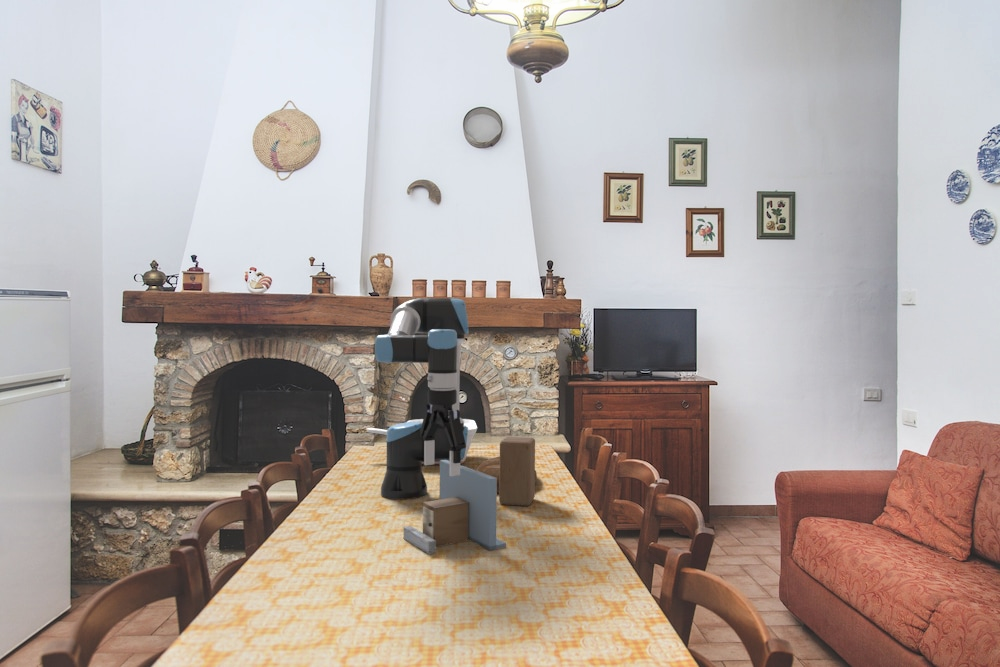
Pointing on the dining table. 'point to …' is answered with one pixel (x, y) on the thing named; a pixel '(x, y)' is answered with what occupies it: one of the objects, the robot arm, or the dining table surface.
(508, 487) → the wooden block
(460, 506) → the wooden box
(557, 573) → the dining table surface
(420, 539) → the cleat rail
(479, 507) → the wall board
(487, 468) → the bread
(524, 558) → the dining table surface
